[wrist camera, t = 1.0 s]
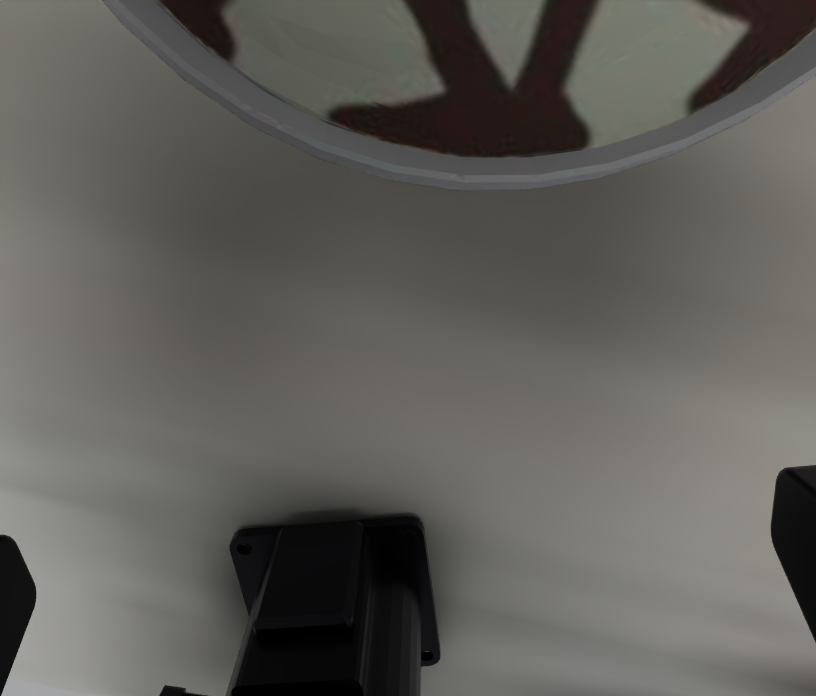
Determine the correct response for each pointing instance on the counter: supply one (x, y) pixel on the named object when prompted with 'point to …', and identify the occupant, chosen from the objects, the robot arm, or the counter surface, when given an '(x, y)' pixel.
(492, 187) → the food container
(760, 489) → the counter surface
